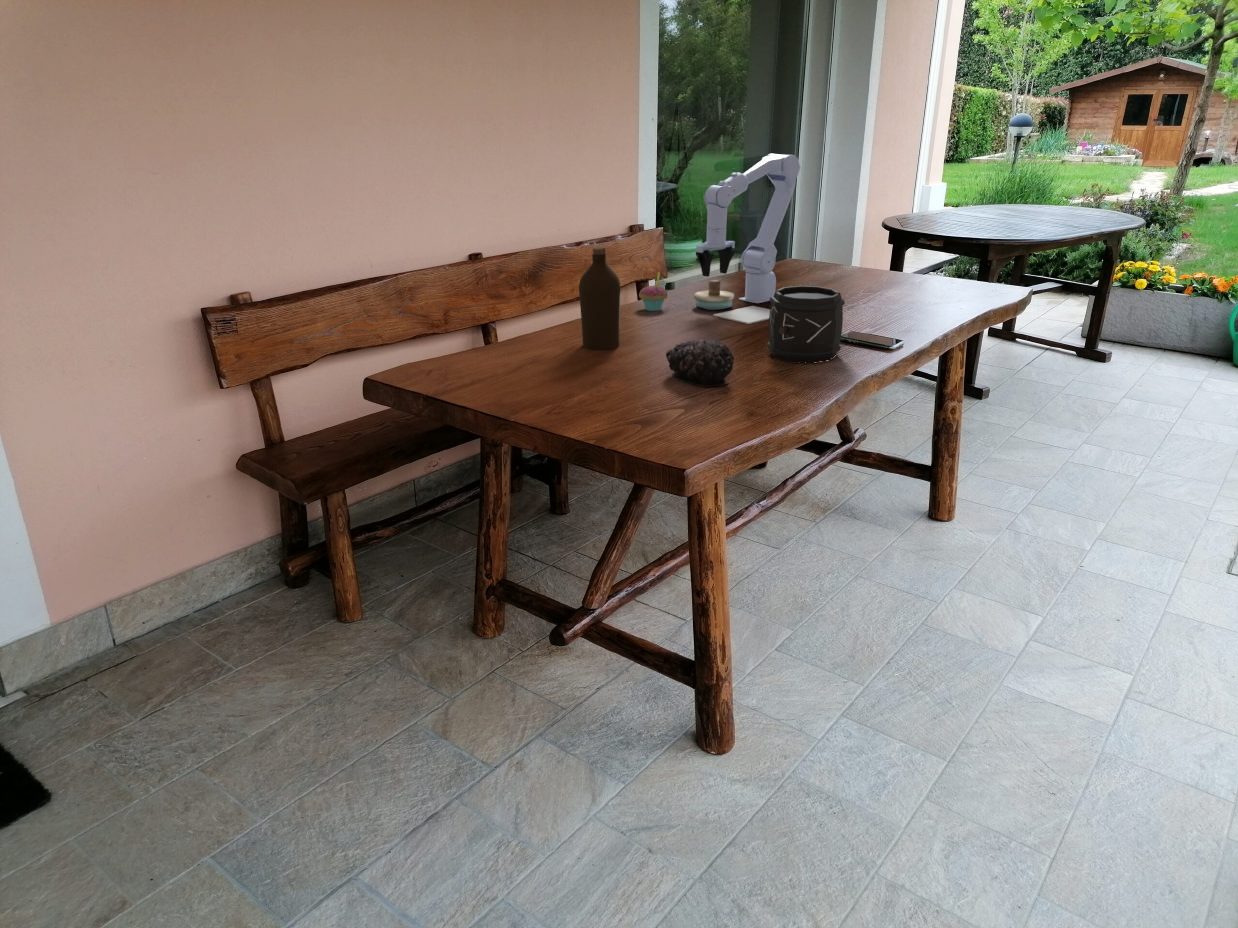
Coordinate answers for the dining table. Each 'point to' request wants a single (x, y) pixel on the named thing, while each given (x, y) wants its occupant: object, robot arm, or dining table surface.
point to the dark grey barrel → (805, 323)
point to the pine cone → (701, 362)
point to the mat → (746, 314)
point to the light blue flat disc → (713, 305)
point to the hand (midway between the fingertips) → (714, 274)
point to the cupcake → (653, 296)
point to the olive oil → (600, 304)
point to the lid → (714, 293)
